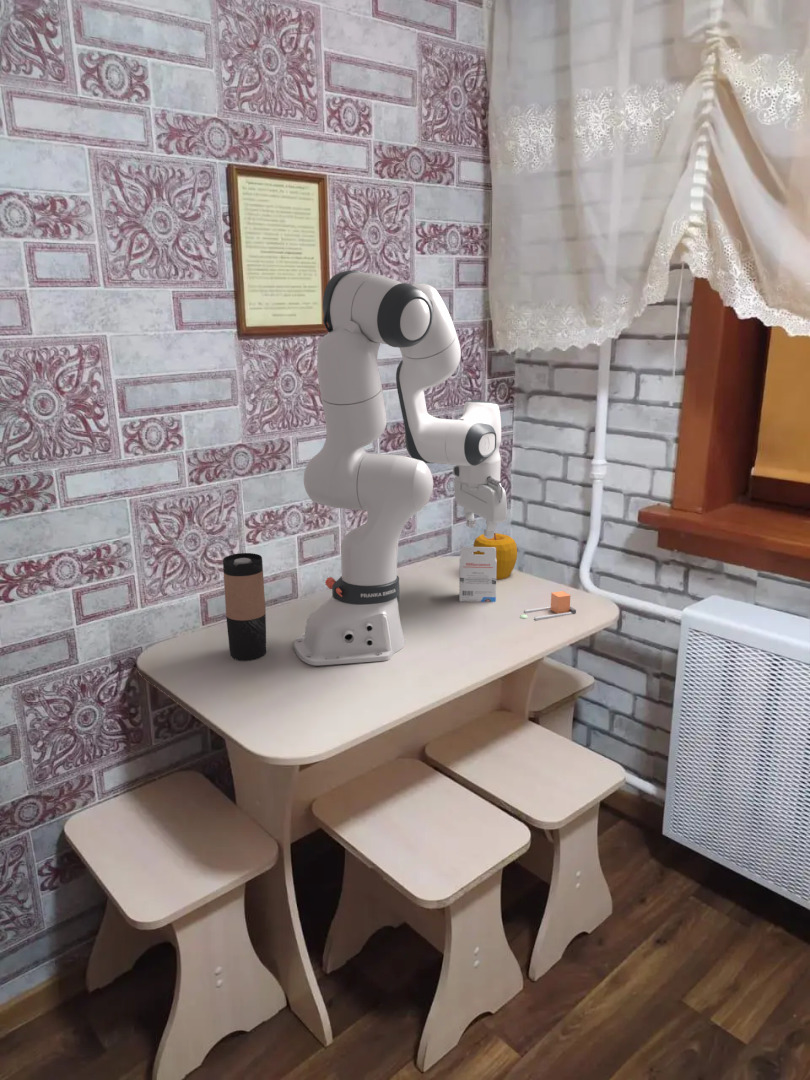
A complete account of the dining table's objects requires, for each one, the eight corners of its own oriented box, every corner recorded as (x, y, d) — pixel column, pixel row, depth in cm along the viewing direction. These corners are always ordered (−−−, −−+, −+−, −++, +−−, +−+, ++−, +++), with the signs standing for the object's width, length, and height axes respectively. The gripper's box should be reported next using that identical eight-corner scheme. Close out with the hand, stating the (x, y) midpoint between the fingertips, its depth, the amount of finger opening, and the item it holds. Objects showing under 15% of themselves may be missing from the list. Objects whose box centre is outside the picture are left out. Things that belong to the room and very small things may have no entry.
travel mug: (263, 644, 163) (258, 551, 157) (271, 658, 156) (266, 561, 150) (226, 649, 160) (219, 555, 155) (232, 664, 153) (225, 566, 148)
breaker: (557, 615, 173) (558, 597, 172) (550, 611, 176) (551, 592, 175) (569, 614, 174) (570, 595, 173) (562, 609, 177) (563, 591, 176)
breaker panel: (528, 630, 169) (528, 618, 168) (496, 607, 183) (496, 596, 182) (577, 623, 173) (578, 611, 173) (543, 601, 187) (543, 590, 186)
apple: (524, 582, 201) (526, 533, 197) (497, 592, 193) (499, 541, 190) (490, 572, 208) (491, 525, 205) (463, 582, 201) (464, 533, 197)
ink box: (495, 601, 187) (497, 541, 183) (495, 609, 182) (497, 547, 178) (459, 600, 188) (460, 541, 184) (458, 607, 183) (459, 546, 179)
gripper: (515, 480, 168) (513, 543, 172) (474, 463, 187) (473, 520, 191) (488, 483, 166) (487, 546, 170) (449, 465, 184) (449, 522, 188)
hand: (479, 532), depth 180 cm, fingers open, 8 cm apart
